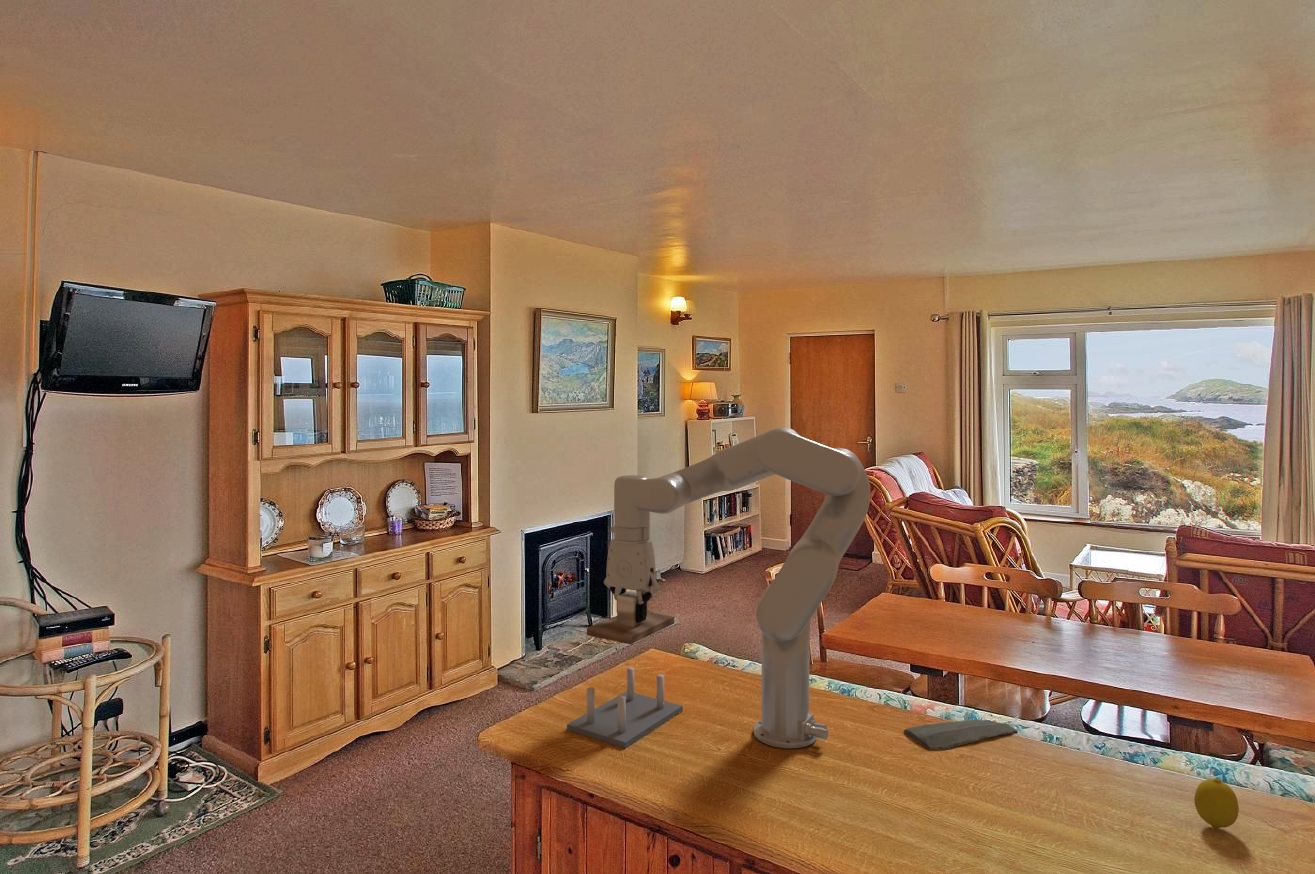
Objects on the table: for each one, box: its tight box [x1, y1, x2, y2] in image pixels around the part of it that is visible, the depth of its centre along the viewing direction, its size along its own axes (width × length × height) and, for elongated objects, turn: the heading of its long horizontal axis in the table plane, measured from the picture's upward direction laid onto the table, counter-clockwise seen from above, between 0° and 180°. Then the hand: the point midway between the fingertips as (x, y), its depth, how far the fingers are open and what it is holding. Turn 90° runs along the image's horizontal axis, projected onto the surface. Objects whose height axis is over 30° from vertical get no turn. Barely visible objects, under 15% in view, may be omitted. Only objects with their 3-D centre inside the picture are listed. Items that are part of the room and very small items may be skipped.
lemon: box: [1193, 777, 1240, 830], centre depth 116 cm, size 6×6×8 cm
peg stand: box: [566, 667, 684, 749], centre depth 157 cm, size 15×21×8 cm
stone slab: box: [903, 719, 1018, 752], centre depth 150 cm, size 22×3×10 cm
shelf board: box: [586, 590, 675, 645], centre depth 157 cm, size 17×11×8 cm, turn 148°
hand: (631, 618), depth 157 cm, fingers closed on shelf board, 4 cm apart
